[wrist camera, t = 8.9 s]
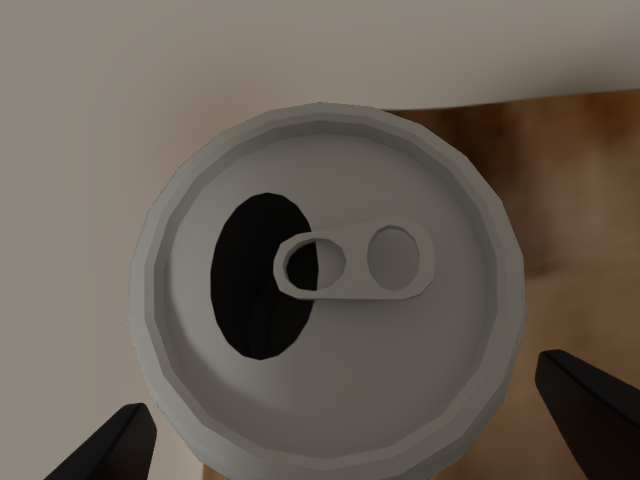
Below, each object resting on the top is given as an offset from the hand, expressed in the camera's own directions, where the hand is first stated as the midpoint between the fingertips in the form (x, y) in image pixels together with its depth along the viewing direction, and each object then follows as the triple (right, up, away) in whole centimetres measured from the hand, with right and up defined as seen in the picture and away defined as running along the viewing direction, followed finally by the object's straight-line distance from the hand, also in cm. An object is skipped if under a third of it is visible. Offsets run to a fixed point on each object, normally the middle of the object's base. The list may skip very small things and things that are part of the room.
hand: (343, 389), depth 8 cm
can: (0, -1, +9) cm, 9 cm away
